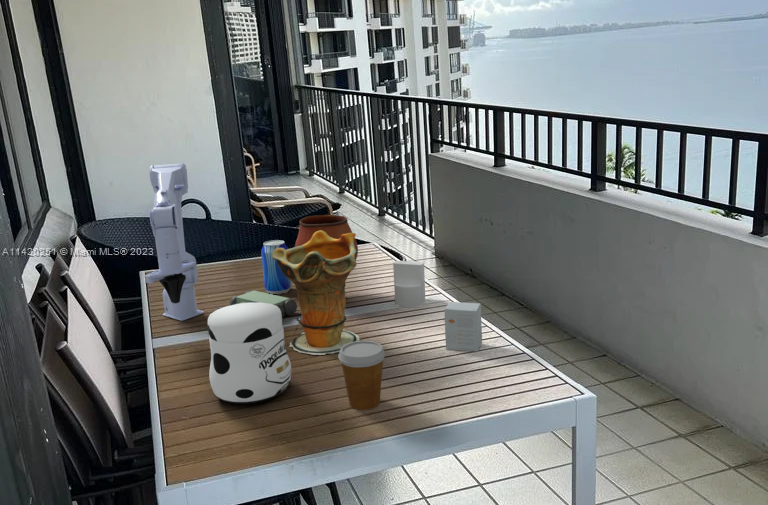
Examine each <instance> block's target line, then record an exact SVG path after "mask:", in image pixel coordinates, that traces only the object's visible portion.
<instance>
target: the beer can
mask: <svg viewBox="0 0 768 505" xmlns="http://www.w3.org/2000/svg"><path fill="white" fill-rule="evenodd" d="M277 248H284V249H285V250H287V249H289V248H288V246H287V245H286V243H285V241H284V240H279V239H274V240H273V239H272V240H267V241H264V242H263V246H262V248H261V250H260V252H261V253H260V255H261V264H262V273H263V274H262V275H263V276H262V277H263V283H264V284H263V285H264V290H265V291H266V293H268V294H269V293H270V294H272V295H273V294H278V295H283V294H282V293H284V294H287V293H289V292H290V289H291V288H292V281H291V280H290V279H288V278H287V277H286V276H284V274H283V273H282V272H281V270H280V268H279V266H278V264H277V261H276V260H275V259H273V257H272V253H273V251H274V250H275V249H277ZM288 291H289V292H288ZM286 292H287V293H286Z"/></svg>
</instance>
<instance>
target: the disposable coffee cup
mask: <svg viewBox="0 0 768 505" xmlns="http://www.w3.org/2000/svg"><path fill="white" fill-rule="evenodd" d="M385 356H386V352H385V349H384V347H383V345H382V344H381V343H379V342H377V341H372V340H359V341H355V342H351V343H348V344H345V345H344V346H342V347H341V349H340V352H338V355H337V357H338V359H339V362H340V363H341V368H342V373H343V377H344V382H345V387H346V393H347V398H348V402H349V407H351V408H353V409H355V410H359V411H362V410H363V411H364V410H365V411H366V410H372V409H375V408H376V407H378V406H379V405H380V403H381V393H382V392H381V391H382V378H383V367H384V366H383V365H384V359H385Z"/></svg>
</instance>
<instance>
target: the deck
mask: <svg viewBox="0 0 768 505" xmlns="http://www.w3.org/2000/svg"><path fill="white" fill-rule="evenodd" d="M257 302H261V303H269V304H273V305H275V306H277V307H278V308H279V309H280V310H281V314H282V319H283V318H284V315H285V316H287V315H288V316H293V315H295V314H296V312H297V309H298V305H297V303H298V302H296V300H294V299H291V298H290V297H286V296H280V295H273V294H269V293H268V292H262V291H258V290H247V291H245V292H244V294H241V295H237V294H235V295H233V296H232V297H231V299H230V301H229V306H231V305H235V304H241V303H257Z"/></svg>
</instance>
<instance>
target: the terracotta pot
mask: <svg viewBox="0 0 768 505" xmlns="http://www.w3.org/2000/svg"><path fill="white" fill-rule="evenodd" d="M298 224H299V228H298V234H297V238H296V240H295V244H294V247H297V246H302V245H303V244H305V243H307V242H309V241H310V239H311V238H312V236H313V234H314V233H315V232H317V231H320V230H322V231H324V232H326V233H327V235H328V236H329V237H332V238H334V239H340V237H341V235H343V234H348V233H353V231H352V229H351V227H350V225H349V223H348V218H347V217H346V216H345V215H339V214H338V215H337V214H335V215H334V214H318V215H317V214H316V215H310V216H309V215H308V216H305V217H303V218H301V219H300V220H299V222H298ZM354 245H355V249H356V255H355V256H356V257H355V261H356V262H357V258H358V255H359V254H358V252H359V248H358V242H357V240H356V238H355V239H354Z"/></svg>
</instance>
